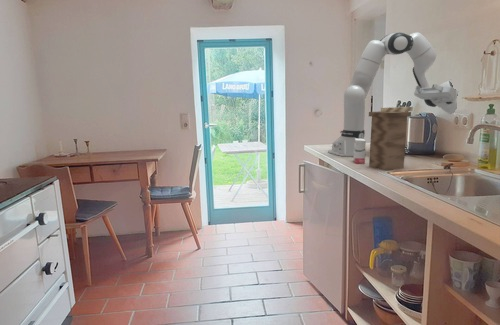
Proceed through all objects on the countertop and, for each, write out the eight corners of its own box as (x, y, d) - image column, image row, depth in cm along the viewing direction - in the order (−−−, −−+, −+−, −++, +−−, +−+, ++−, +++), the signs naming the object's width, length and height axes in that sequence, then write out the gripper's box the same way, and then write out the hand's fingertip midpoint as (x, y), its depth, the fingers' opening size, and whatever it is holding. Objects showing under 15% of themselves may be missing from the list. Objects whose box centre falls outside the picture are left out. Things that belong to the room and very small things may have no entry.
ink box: (364, 163, 175) (366, 140, 173) (354, 163, 176) (355, 140, 174) (363, 160, 183) (364, 138, 181) (353, 160, 184) (354, 138, 182)
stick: (384, 112, 158) (384, 107, 158) (380, 112, 160) (380, 107, 159) (412, 111, 168) (412, 106, 167) (408, 110, 170) (409, 106, 169)
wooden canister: (365, 166, 168) (368, 111, 163) (385, 163, 175) (389, 111, 170) (386, 171, 158) (390, 112, 153) (406, 167, 165) (411, 111, 160)
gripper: (425, 93, 192) (409, 82, 186) (461, 90, 174) (445, 78, 168) (421, 103, 192) (405, 93, 186) (457, 102, 174) (441, 91, 168)
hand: (425, 86), depth 177 cm, fingers open, 8 cm apart
